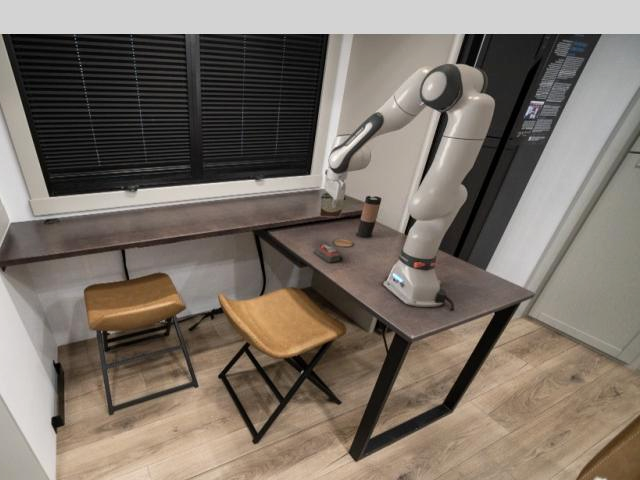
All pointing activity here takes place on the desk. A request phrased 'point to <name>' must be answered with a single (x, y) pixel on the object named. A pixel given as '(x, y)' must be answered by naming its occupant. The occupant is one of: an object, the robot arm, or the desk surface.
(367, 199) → the travel mug
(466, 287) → the desk surface
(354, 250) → the desk surface
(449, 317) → the desk surface
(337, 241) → the cork coaster
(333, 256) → the walkie-talkie
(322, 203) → the food container
